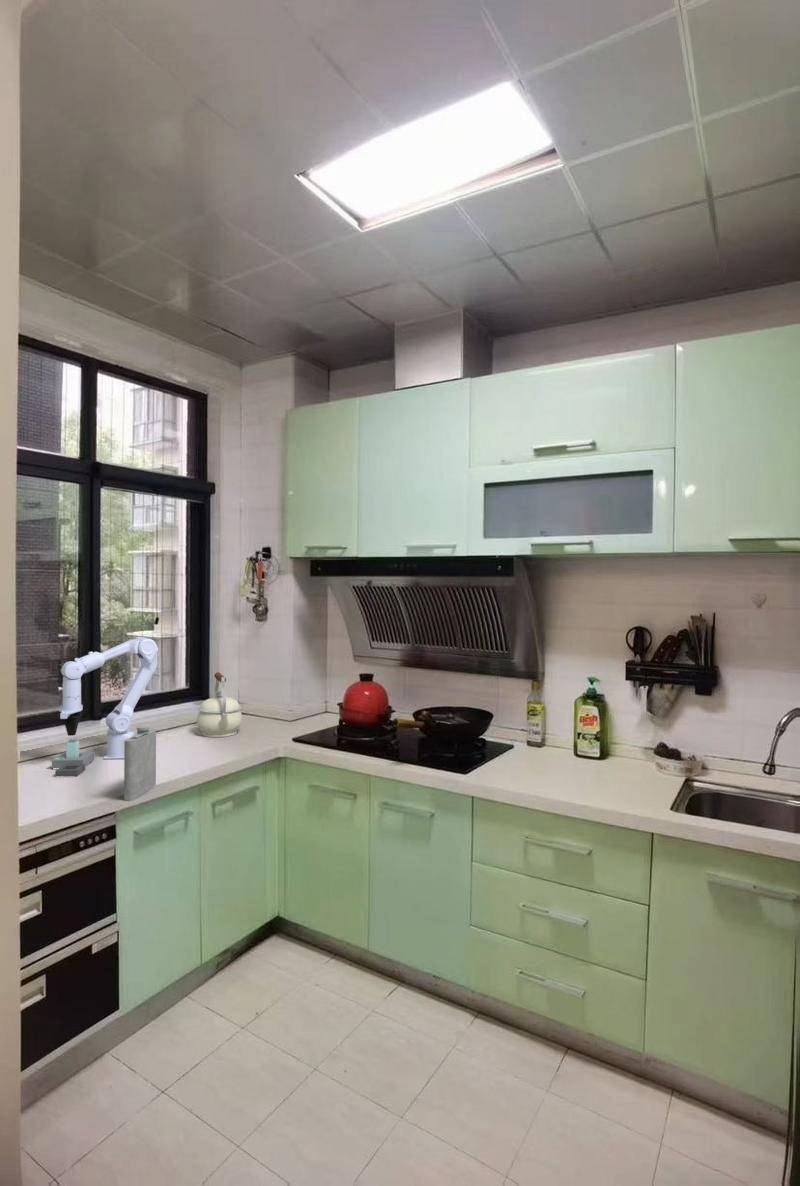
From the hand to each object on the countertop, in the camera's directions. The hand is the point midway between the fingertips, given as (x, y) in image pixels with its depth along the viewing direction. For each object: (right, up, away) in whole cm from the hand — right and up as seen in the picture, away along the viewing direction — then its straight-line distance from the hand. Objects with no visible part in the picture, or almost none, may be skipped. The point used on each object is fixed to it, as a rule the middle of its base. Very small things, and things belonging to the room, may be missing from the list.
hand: (71, 735), depth 217 cm
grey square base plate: (+5, -10, -11) cm, 16 cm away
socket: (+1, -10, -1) cm, 10 cm away
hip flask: (+36, -11, -28) cm, 47 cm away
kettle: (+39, -10, +44) cm, 60 cm away
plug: (+1, -10, -1) cm, 10 cm away
